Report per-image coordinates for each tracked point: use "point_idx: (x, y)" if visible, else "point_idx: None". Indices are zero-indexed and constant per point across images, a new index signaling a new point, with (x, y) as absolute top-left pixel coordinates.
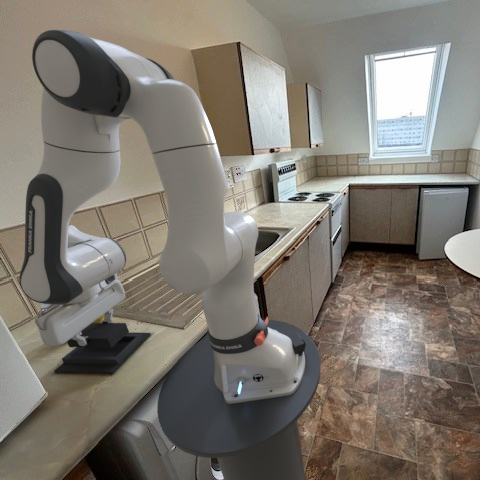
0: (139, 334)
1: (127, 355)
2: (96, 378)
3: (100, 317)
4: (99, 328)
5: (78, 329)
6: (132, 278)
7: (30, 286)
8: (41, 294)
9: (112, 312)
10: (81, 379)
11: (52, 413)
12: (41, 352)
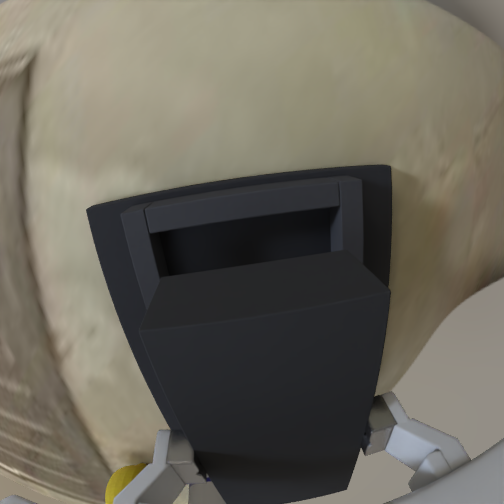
0: (128, 229)
1: (282, 175)
2: (404, 224)
3: (133, 477)
4: (263, 451)
5: (486, 479)
6: (12, 470)
7: None
8: None
9: (127, 492)
10: (405, 284)
11: (497, 237)
12: None
